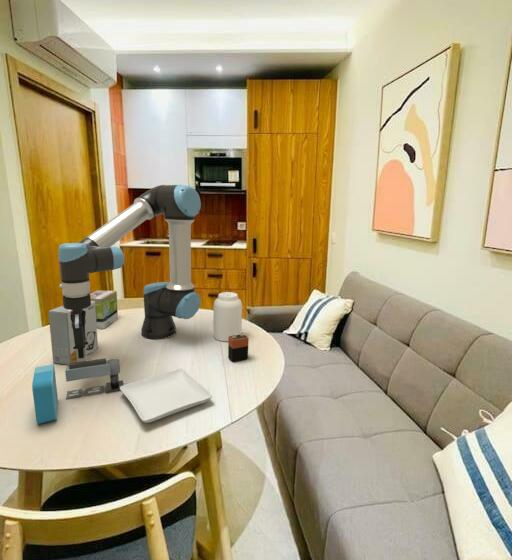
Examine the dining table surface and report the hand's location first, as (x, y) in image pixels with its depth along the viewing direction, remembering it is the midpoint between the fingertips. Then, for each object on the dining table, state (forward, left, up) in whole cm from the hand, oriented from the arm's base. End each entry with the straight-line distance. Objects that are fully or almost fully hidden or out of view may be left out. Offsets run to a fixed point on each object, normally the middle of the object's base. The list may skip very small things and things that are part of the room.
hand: (82, 365), depth 107 cm
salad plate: (-23, +18, -7) cm, 30 cm away
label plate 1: (+2, +6, -6) cm, 9 cm away
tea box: (-4, -57, -7) cm, 58 cm away
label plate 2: (-3, +6, -6) cm, 9 cm away
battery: (-53, 0, -7) cm, 54 cm away
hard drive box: (+4, -23, -7) cm, 24 cm away
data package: (+8, +13, -7) cm, 17 cm away
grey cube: (-9, +6, -6) cm, 13 cm away
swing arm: (-4, +6, -1) cm, 7 cm away
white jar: (-56, -22, -7) cm, 61 cm away
